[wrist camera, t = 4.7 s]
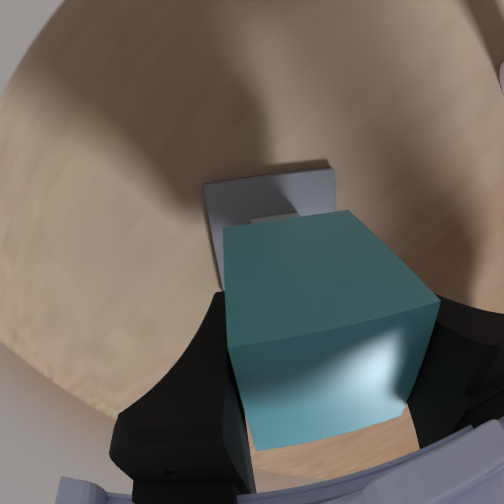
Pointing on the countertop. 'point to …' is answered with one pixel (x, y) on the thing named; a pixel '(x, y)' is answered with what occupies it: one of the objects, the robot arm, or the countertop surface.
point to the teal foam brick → (321, 326)
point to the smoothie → (502, 76)
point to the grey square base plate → (267, 201)
